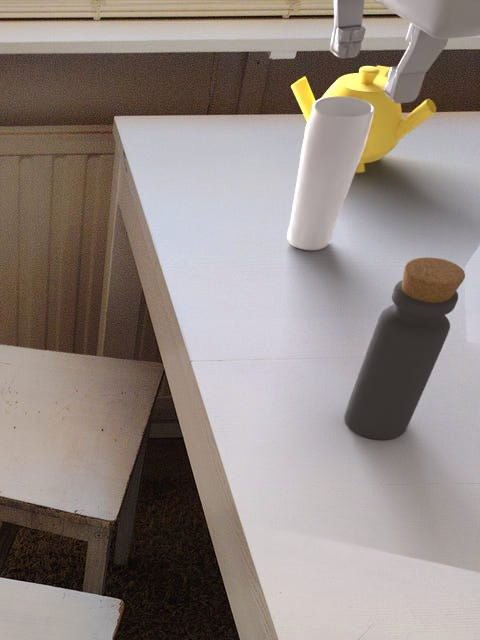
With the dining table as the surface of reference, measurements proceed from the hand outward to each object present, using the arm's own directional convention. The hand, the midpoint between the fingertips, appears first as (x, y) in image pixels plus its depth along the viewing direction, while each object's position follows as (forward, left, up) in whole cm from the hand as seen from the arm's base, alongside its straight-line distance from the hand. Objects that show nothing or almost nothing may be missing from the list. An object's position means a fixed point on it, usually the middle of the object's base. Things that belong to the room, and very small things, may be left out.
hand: (369, 76), depth 59 cm
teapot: (-17, -62, -29) cm, 70 cm away
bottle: (-9, +1, -29) cm, 30 cm away
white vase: (-8, -36, -29) cm, 46 cm away
